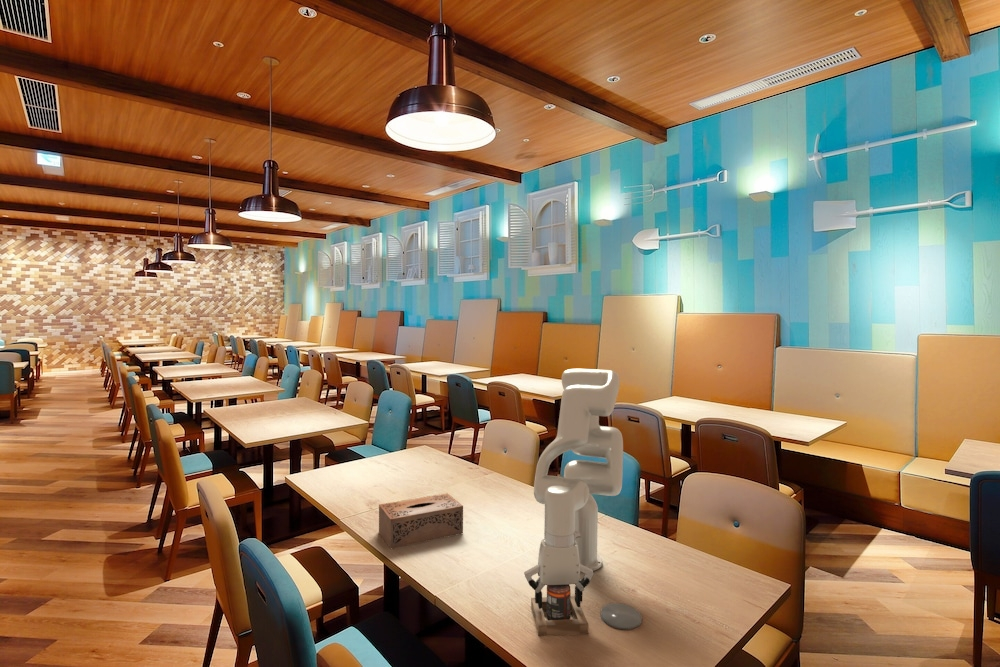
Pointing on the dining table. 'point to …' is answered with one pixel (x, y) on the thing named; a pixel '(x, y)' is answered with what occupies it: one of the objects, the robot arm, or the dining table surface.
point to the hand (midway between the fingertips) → (558, 604)
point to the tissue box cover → (420, 520)
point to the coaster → (621, 616)
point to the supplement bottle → (558, 602)
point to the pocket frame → (559, 626)
